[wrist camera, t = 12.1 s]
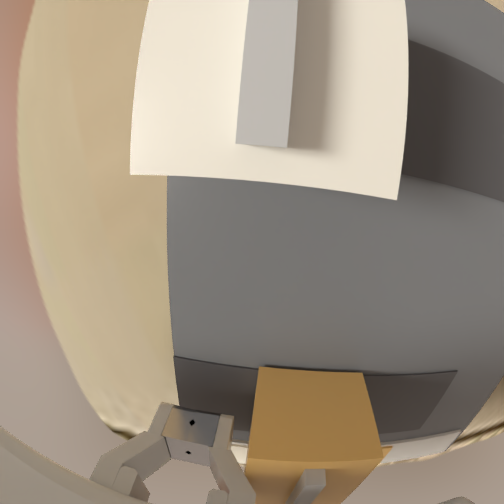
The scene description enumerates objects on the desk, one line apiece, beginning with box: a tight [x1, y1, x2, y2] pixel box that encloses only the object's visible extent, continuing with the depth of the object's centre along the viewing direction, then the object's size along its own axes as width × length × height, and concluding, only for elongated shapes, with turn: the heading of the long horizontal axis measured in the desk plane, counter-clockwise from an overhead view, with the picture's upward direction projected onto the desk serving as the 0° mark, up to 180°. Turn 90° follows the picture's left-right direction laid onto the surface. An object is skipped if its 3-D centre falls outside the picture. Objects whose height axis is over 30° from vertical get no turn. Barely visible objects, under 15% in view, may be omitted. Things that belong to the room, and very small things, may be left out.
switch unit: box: [167, 0, 504, 464], centre depth 10 cm, size 17×24×3 cm
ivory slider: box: [130, 0, 408, 200], centre depth 5 cm, size 4×5×5 cm
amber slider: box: [244, 366, 384, 504], centre depth 9 cm, size 4×5×5 cm
